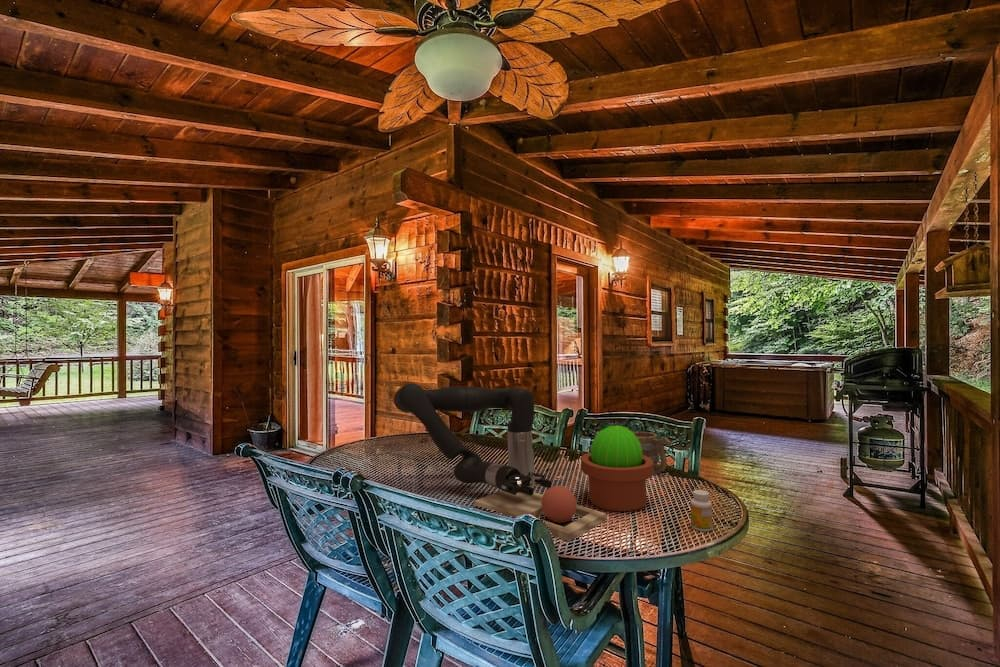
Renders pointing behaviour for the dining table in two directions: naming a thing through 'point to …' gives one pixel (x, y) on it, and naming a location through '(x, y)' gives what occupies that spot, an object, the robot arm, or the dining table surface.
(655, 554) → the dining table surface
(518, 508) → the board
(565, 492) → the ball
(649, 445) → the tankard
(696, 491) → the supplement bottle
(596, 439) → the potted cactus
